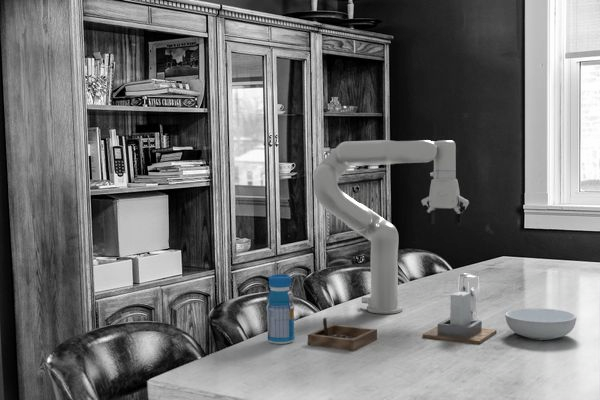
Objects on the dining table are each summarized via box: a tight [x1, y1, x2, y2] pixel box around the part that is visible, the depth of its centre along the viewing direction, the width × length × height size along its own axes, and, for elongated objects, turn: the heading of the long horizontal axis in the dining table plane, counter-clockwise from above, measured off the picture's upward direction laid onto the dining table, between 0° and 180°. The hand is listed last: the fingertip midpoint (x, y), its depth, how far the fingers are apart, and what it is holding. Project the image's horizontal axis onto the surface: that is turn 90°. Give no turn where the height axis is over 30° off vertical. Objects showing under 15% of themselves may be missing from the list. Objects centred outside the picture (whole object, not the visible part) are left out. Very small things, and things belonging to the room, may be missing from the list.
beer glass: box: [457, 273, 480, 320], centre depth 274 cm, size 7×7×15 cm
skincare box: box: [449, 291, 471, 326], centre depth 253 cm, size 6×4×12 cm
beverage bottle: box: [266, 273, 295, 345], centre depth 249 cm, size 8×8×20 cm
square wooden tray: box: [307, 323, 378, 352], centre depth 248 cm, size 15×15×3 cm
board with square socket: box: [422, 317, 497, 345], centre depth 254 cm, size 18×16×4 cm
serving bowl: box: [504, 307, 577, 341], centre depth 251 cm, size 21×21×7 cm
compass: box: [322, 317, 350, 339], centre depth 250 cm, size 8×8×7 cm
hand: (444, 224), depth 290 cm, fingers open, 9 cm apart
